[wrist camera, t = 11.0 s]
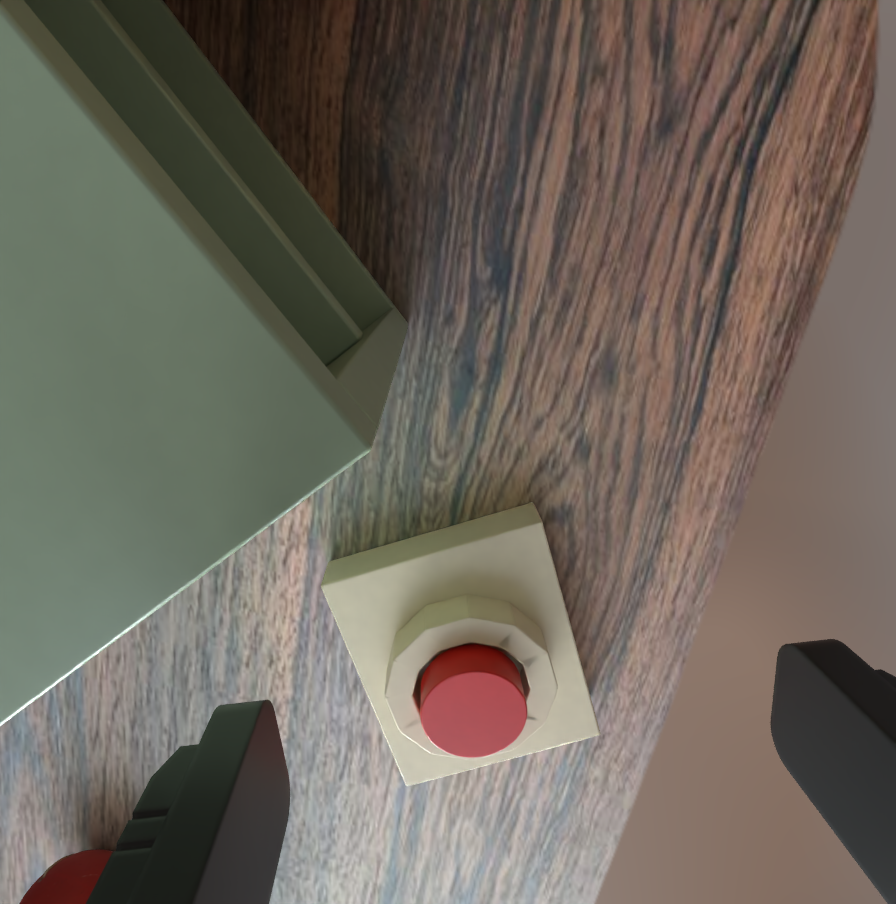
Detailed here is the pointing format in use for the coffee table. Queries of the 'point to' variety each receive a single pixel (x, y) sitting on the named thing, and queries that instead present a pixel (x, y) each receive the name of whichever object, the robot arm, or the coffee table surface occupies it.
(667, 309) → the coffee table surface
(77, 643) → the cupboard
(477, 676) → the button
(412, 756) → the switch block
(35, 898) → the kendama
